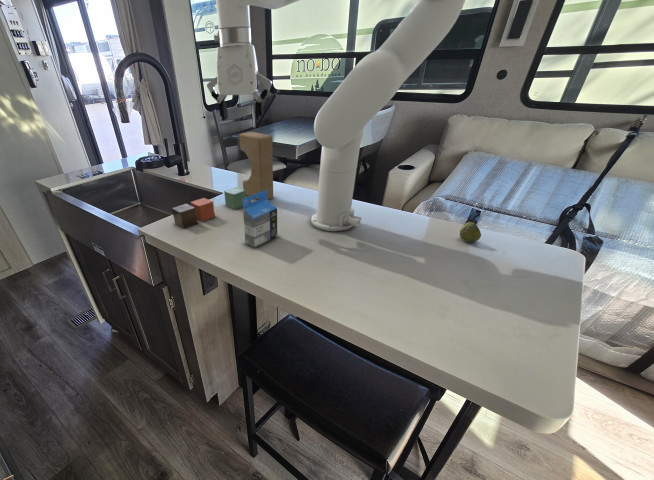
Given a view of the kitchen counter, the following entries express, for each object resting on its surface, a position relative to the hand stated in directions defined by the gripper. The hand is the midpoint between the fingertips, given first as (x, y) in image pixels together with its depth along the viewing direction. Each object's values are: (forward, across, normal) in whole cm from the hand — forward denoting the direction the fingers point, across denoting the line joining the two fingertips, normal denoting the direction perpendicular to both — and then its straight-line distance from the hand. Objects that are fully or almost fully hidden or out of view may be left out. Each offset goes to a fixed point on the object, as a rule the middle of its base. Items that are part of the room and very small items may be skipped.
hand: (241, 119), depth 85 cm
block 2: (+26, -13, -7) cm, 30 cm away
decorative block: (+26, 0, +14) cm, 30 cm away
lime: (+27, +61, -11) cm, 68 cm away
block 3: (+26, -6, +4) cm, 27 cm away
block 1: (+26, -17, -12) cm, 33 cm away
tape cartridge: (+27, +9, -19) cm, 34 cm away
